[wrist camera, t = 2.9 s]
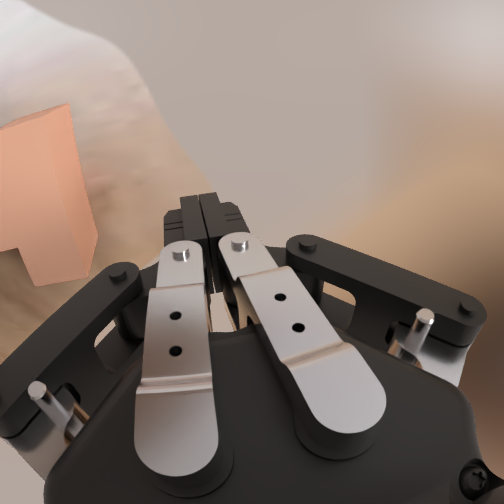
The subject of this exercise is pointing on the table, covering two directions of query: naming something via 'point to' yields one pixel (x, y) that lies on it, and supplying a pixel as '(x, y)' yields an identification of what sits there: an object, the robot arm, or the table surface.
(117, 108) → the table surface
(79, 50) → the table surface
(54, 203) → the t block
